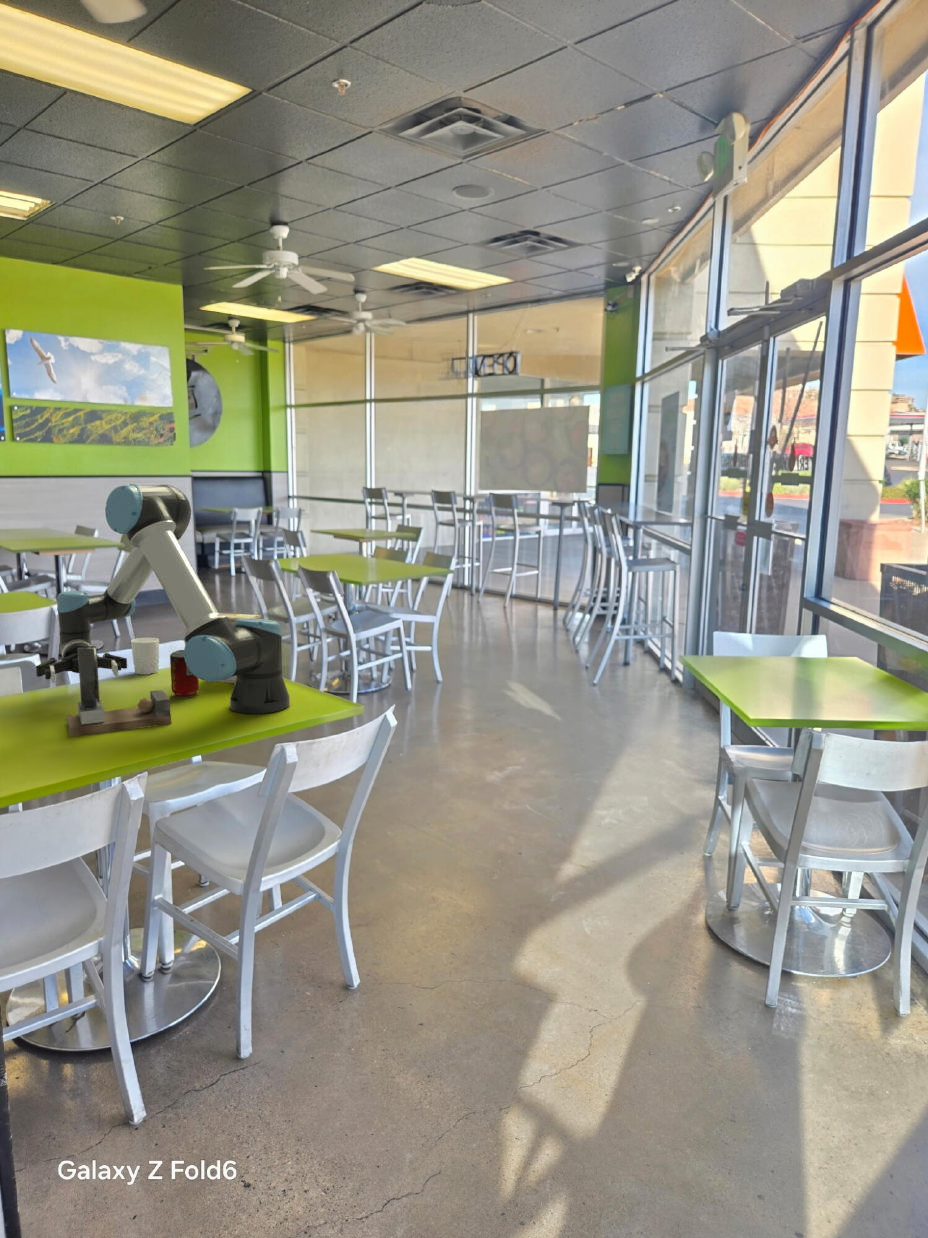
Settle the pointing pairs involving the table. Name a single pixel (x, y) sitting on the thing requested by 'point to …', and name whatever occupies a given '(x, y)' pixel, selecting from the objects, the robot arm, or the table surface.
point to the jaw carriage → (89, 687)
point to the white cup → (145, 655)
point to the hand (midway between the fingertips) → (85, 674)
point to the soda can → (182, 676)
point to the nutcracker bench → (127, 717)
